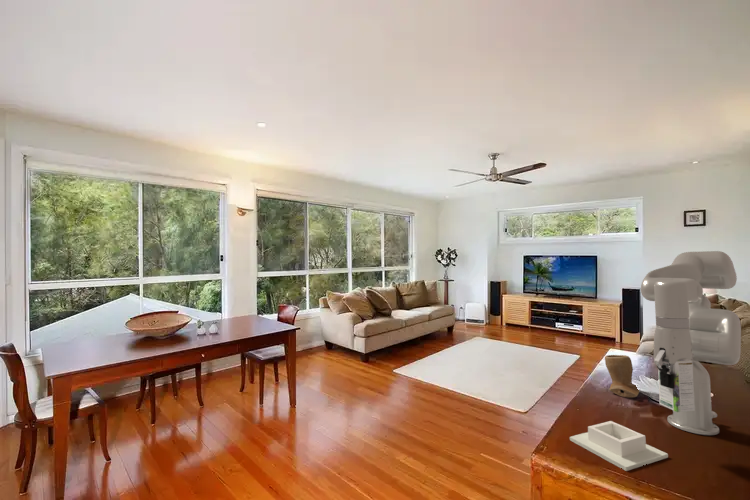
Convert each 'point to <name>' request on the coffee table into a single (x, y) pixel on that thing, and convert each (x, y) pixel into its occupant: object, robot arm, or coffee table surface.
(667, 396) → the syrup box
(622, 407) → the coffee table surface
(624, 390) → the tan boot
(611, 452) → the dock socket
